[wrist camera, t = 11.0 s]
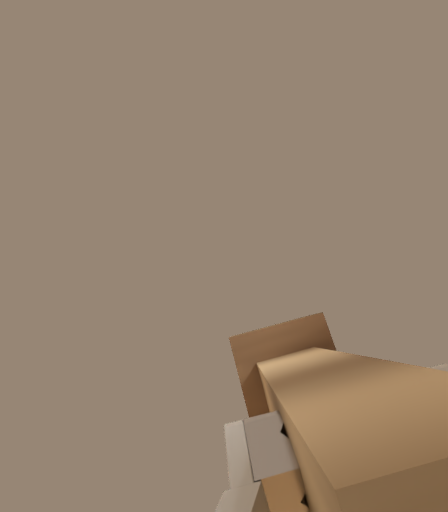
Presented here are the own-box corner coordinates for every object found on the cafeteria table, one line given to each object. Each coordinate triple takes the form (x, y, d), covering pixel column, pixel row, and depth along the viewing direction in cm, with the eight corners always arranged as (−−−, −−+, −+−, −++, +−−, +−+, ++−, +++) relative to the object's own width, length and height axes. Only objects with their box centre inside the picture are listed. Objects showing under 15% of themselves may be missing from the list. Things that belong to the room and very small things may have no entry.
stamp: (249, 407, 18) (231, 336, 19) (324, 386, 18) (301, 317, 19) (355, 1077, 2) (196, 354, 3) (1053, 836, 2) (624, 238, 3)
